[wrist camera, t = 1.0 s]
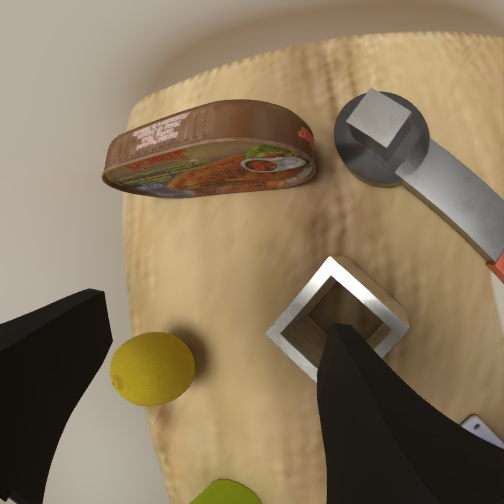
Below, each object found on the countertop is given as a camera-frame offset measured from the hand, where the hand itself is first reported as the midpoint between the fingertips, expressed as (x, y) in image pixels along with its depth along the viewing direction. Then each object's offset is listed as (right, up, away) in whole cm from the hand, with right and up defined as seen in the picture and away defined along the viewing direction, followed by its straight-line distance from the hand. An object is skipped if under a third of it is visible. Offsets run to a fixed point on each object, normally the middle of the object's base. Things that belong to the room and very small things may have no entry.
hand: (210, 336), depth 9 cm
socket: (+7, -1, +9) cm, 12 cm away
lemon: (-4, -6, +15) cm, 17 cm away
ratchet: (+15, +5, +6) cm, 17 cm away
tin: (0, +8, +14) cm, 16 cm away
